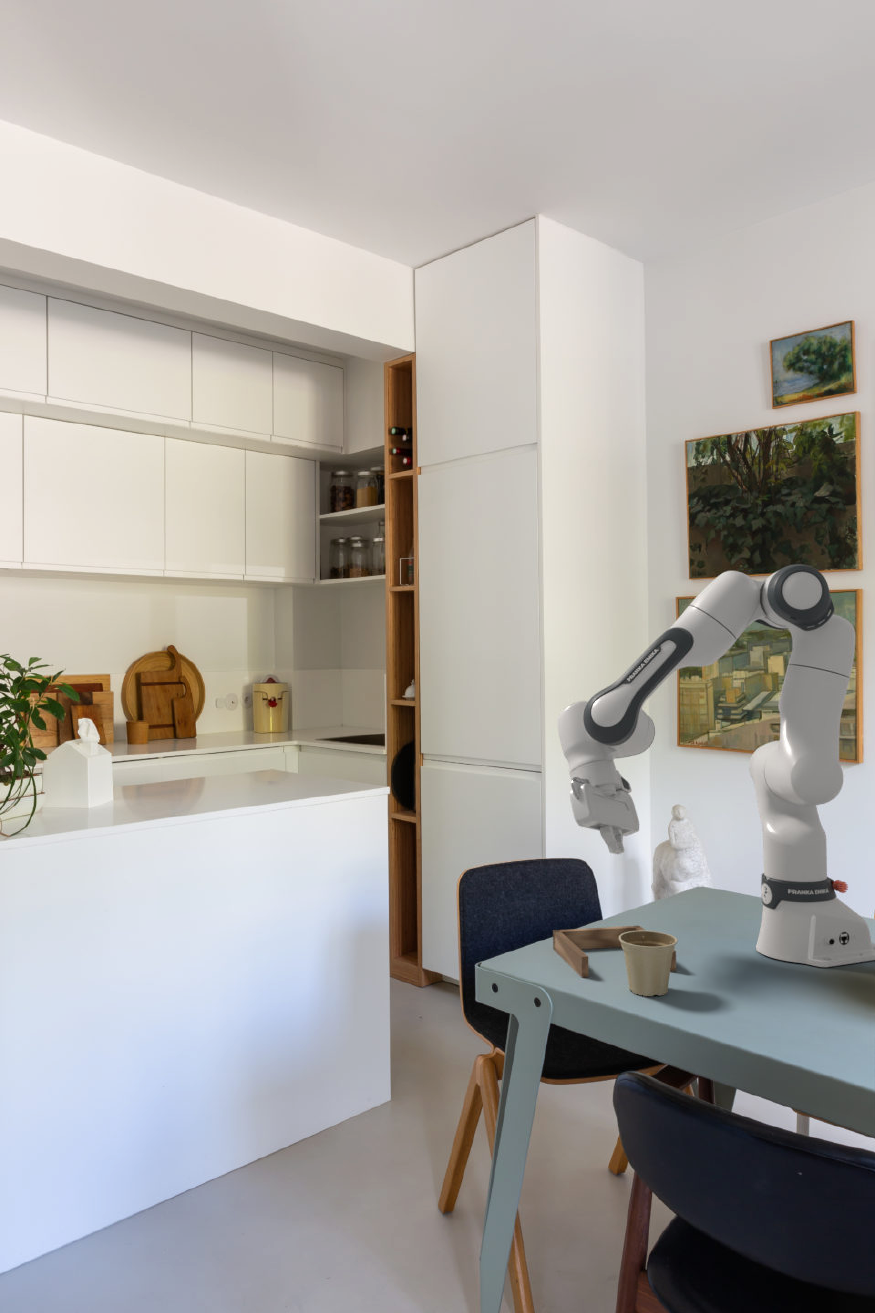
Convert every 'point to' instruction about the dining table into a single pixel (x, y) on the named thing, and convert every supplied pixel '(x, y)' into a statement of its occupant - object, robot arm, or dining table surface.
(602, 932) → the wooden u-shaped frame
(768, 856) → the robot arm
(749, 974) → the dining table surface
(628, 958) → the flower pot
